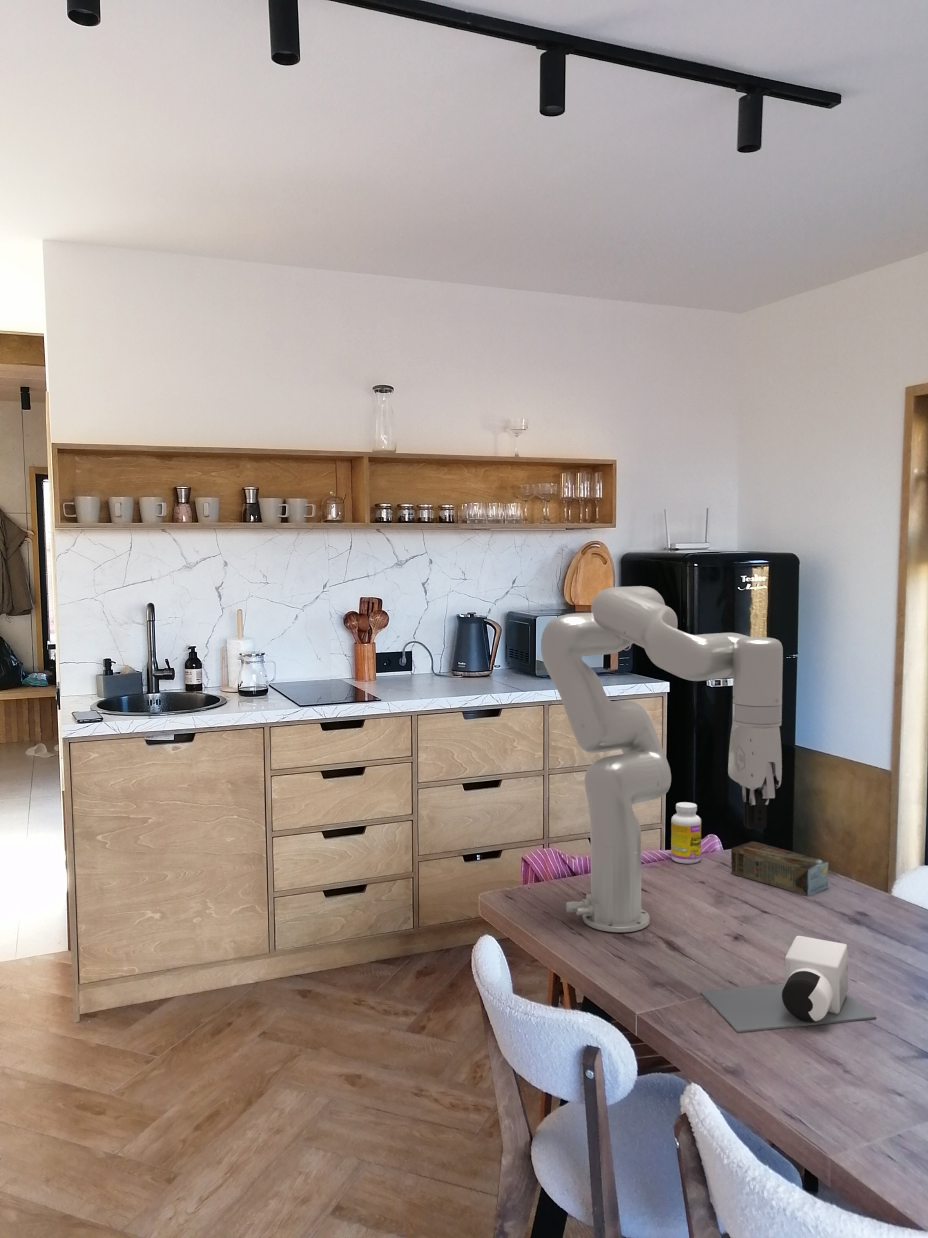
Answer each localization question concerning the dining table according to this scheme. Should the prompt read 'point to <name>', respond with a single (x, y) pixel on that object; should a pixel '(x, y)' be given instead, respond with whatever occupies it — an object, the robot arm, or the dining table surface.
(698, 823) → the supplement bottle
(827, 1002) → the container
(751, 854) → the beverage carton
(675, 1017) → the dining table surface
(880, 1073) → the dining table surface
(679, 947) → the dining table surface
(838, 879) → the dining table surface
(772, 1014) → the rubber mat
